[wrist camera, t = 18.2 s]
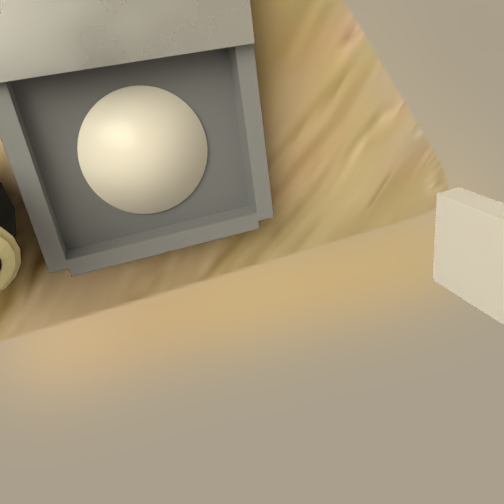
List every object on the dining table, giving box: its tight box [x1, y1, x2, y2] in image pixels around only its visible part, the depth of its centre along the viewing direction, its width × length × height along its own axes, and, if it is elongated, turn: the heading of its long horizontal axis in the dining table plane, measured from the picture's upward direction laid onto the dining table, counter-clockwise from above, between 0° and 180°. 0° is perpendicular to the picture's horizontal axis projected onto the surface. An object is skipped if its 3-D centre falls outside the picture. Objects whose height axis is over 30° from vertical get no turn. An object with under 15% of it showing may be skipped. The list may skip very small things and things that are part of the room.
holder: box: [0, 43, 274, 277], centre depth 24 cm, size 13×18×3 cm
